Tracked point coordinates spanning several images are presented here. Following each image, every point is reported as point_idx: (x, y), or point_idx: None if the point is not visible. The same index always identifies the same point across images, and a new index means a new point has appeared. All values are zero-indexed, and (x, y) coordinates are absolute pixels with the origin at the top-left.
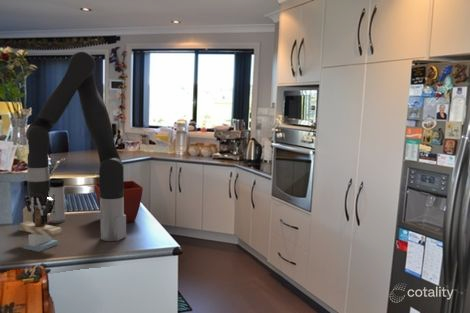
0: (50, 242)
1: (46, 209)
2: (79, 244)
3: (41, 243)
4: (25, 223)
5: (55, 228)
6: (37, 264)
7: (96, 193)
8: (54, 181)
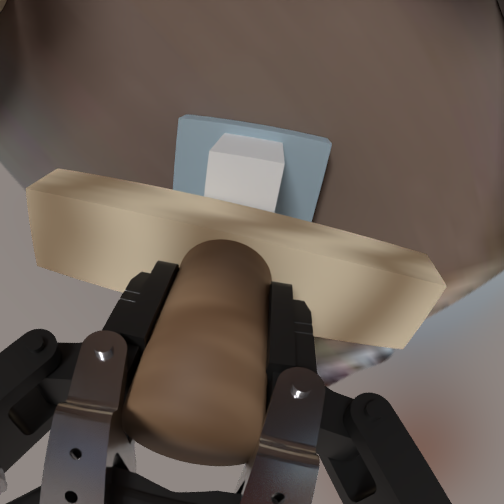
0: (304, 190)
1: (357, 487)
2: (450, 118)
3: None
4: (62, 253)
5: (407, 310)
6: (365, 362)
7: None
8: None
